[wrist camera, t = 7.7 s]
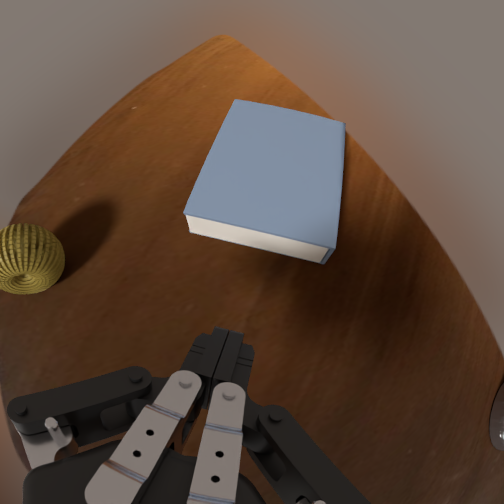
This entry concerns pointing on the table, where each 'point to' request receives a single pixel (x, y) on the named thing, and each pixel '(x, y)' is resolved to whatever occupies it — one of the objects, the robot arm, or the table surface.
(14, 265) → the sculpture
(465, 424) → the table surface
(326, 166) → the book
